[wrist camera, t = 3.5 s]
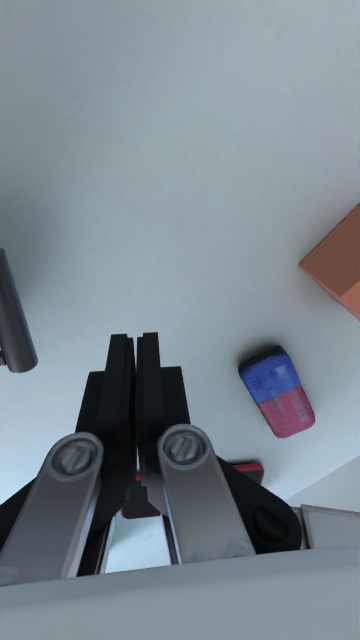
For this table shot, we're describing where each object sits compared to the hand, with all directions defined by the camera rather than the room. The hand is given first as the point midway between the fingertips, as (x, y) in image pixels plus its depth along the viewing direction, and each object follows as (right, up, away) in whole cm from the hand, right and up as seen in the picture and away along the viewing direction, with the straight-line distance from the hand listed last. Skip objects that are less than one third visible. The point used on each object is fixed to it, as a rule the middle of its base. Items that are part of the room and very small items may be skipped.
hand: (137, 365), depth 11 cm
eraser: (+10, -4, +15) cm, 18 cm away
